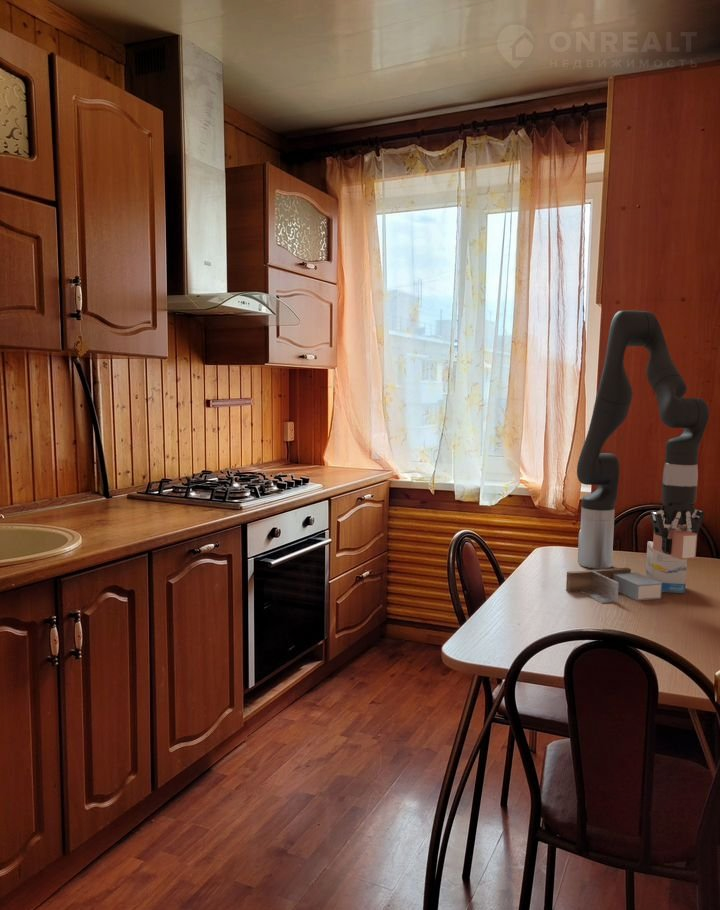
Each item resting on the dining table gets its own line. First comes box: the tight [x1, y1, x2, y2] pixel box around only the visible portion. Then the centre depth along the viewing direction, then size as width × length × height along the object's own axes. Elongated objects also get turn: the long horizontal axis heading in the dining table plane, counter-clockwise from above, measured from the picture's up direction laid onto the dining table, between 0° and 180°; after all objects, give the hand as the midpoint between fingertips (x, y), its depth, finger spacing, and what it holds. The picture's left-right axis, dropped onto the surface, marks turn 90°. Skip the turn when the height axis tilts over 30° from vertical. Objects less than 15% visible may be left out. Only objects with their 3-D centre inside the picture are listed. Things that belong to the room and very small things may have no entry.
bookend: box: [579, 572, 619, 604], centre depth 176 cm, size 10×4×5 cm, turn 15°
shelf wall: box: [565, 567, 632, 593], centre depth 183 cm, size 2×18×5 cm, turn 105°
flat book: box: [613, 571, 662, 601], centre depth 179 cm, size 10×7×4 cm
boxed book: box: [652, 526, 698, 560], centre depth 168 cm, size 10×4×6 cm, turn 15°
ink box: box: [644, 540, 688, 594], centre depth 184 cm, size 9×8×12 cm
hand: (674, 552), depth 168 cm, fingers closed on boxed book, 4 cm apart
